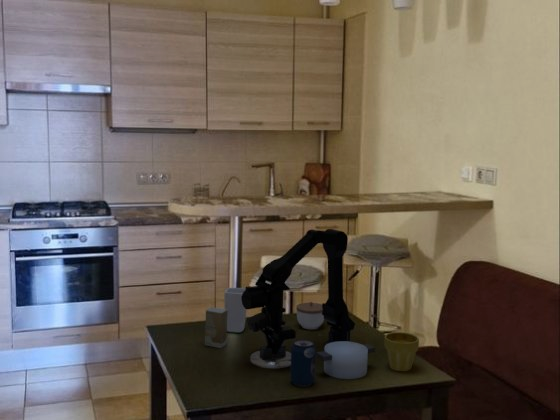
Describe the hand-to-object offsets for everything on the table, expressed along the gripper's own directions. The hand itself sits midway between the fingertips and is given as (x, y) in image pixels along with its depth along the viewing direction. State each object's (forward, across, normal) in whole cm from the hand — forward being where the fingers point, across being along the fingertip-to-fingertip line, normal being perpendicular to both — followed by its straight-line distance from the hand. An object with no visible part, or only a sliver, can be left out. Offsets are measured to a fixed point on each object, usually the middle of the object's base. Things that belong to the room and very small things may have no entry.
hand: (272, 352), depth 204 cm
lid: (+2, 0, 0) cm, 2 cm away
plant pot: (+2, +22, +33) cm, 40 cm away
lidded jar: (+3, -24, +28) cm, 37 cm away
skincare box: (+3, -20, -11) cm, 23 cm away
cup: (+3, -31, +1) cm, 31 cm away
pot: (+2, +17, +16) cm, 23 cm away
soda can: (+2, +20, 0) cm, 20 cm away
